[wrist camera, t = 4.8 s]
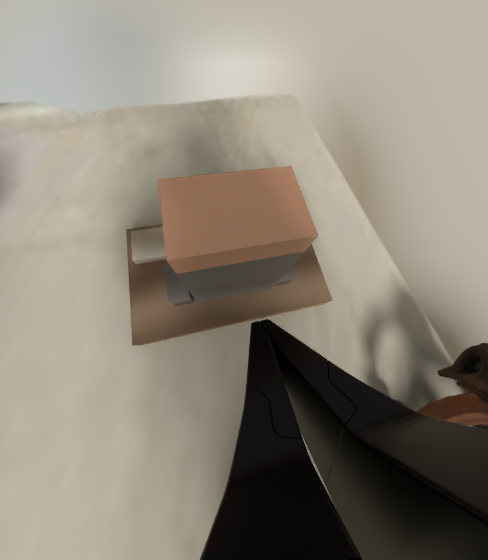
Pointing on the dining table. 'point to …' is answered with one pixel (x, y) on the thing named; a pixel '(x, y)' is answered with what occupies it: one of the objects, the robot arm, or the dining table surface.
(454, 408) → the brown curved piece
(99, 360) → the dining table surface
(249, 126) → the dining table surface
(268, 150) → the dining table surface
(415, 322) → the dining table surface
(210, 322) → the brown rectangular slab
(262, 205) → the grey block
